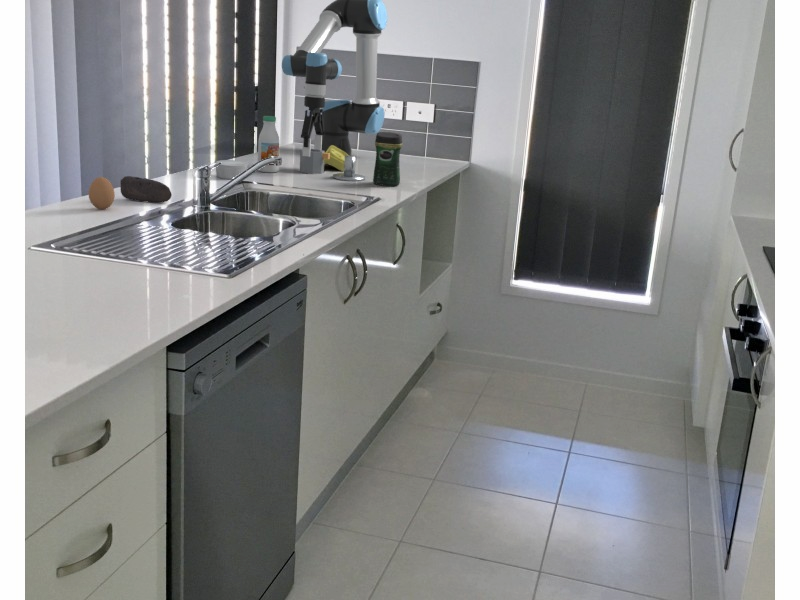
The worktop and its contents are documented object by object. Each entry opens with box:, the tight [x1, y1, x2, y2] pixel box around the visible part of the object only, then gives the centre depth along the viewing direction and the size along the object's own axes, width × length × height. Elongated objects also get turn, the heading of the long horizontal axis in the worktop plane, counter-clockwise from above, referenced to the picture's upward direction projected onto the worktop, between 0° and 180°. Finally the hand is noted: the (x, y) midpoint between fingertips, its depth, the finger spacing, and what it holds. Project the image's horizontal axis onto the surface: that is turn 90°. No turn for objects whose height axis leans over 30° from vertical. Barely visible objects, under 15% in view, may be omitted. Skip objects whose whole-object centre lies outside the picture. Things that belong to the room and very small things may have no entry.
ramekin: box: [214, 159, 248, 180], centre depth 297 cm, size 11×11×5 cm
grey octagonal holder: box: [299, 148, 330, 175], centre depth 319 cm, size 8×11×8 cm
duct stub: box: [332, 155, 366, 182], centre depth 312 cm, size 12×12×8 cm
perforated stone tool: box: [119, 175, 173, 203], centre depth 248 cm, size 15×5×7 cm, turn 80°
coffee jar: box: [372, 131, 403, 187], centre depth 304 cm, size 10×8×19 cm
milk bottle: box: [257, 115, 280, 173], centre depth 312 cm, size 8×8×20 cm
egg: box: [88, 176, 116, 210], centre depth 234 cm, size 7×7×9 cm
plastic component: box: [324, 145, 349, 172], centre depth 335 cm, size 20×7×10 cm
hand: (312, 154), depth 318 cm, fingers open, 13 cm apart
